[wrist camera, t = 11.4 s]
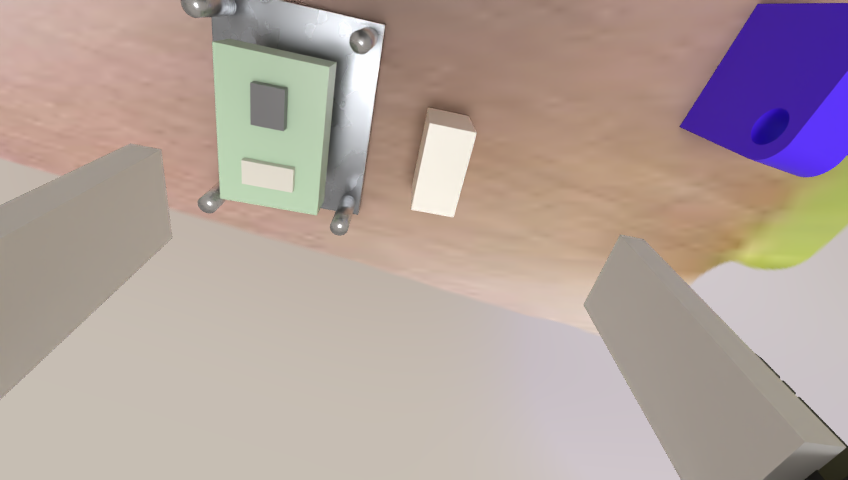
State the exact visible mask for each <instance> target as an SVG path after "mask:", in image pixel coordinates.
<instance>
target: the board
mask: <svg viewBox="0 0 848 480" xmlns="http://www.w3.org/2000/svg"><path fill="white" fill-rule="evenodd" d="M212 48H213V68H214V87H215V106H216V125H217V145H218V164H219V183H220V198H221V199H227V200H232V201H238V202H244V203H249V204H255V205H261V206H267V207H272V208H278V209H284V210H289V211H295V212H301V213H306V214H312V215H317V214H318V212H319V210H320V208H321V206H322V204H323V202H324V196H325V185H326V174H327V163H328V152H329V141H330V130H331V119H332V108H333V97H334V86H335V75H336V64H337V62H334V61H329V60H325V59H320V58H316V57H311V56H306V55H302V54H297V53H293V52H288V51H284V50H279V49H275V48H270V47H266V46H261V45H257V44H252V43H247V42H243V41H238V40H234V39H225V40H219V41H213V42H212Z"/></svg>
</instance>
